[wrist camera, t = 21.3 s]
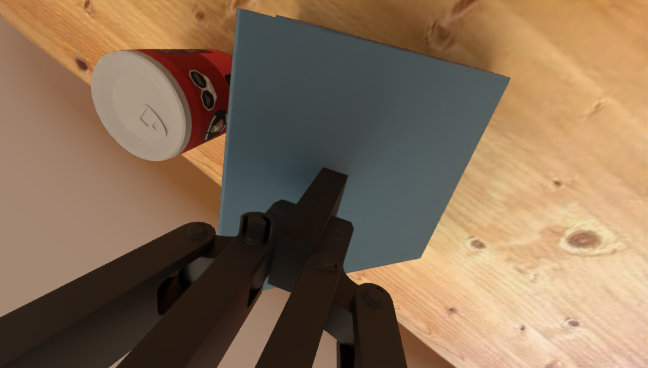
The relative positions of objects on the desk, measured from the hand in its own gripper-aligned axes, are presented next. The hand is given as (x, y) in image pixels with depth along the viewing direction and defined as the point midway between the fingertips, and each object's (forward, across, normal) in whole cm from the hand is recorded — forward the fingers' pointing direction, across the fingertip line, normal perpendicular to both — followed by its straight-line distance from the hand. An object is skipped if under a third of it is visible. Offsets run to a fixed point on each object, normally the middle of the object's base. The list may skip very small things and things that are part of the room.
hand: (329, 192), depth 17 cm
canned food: (+14, -15, 0) cm, 20 cm away
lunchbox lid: (+3, +1, 0) cm, 3 cm away
